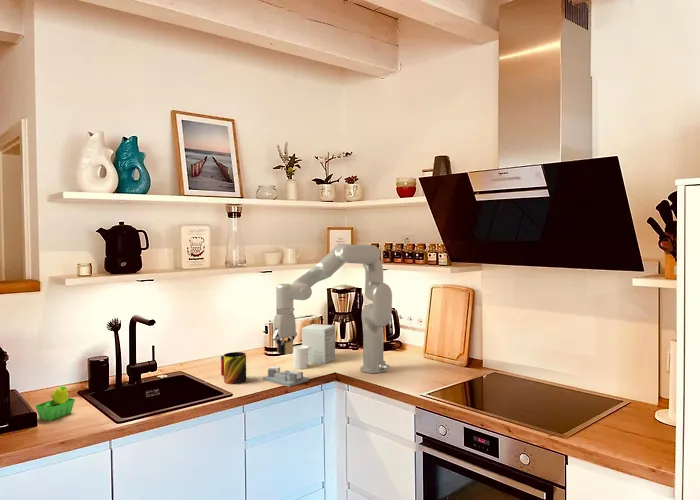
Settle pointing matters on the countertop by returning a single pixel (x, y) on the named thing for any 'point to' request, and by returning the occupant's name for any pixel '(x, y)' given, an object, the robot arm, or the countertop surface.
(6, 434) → the countertop surface
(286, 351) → the coupler
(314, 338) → the supplement box
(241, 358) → the mug
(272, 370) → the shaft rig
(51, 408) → the fruit basket
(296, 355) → the white cup
